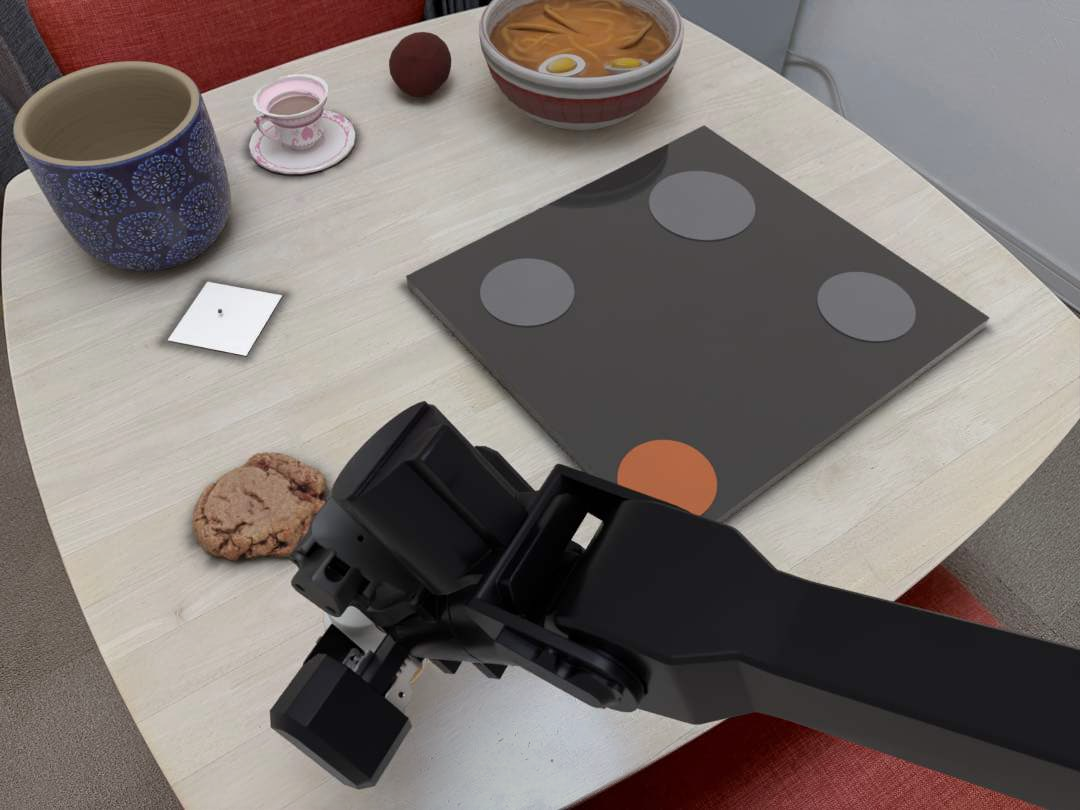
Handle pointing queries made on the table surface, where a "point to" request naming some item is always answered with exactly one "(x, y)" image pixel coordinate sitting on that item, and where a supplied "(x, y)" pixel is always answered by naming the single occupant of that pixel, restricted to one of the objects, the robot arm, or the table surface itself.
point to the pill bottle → (360, 631)
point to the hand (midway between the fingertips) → (353, 603)
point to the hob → (693, 322)
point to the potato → (420, 64)
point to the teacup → (298, 127)
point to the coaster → (225, 318)
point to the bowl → (580, 56)
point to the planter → (128, 163)
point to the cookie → (259, 507)
